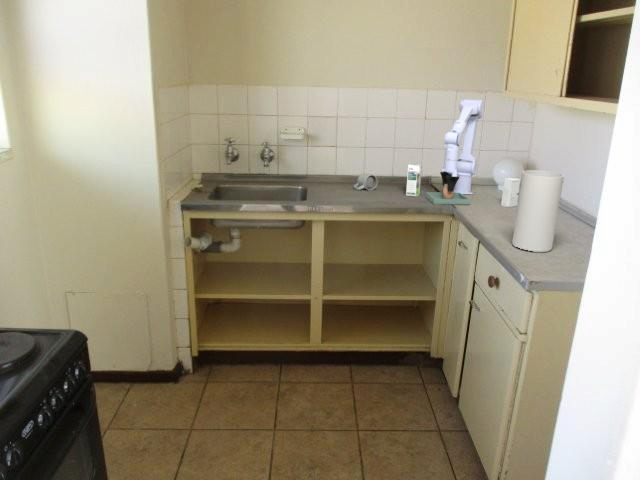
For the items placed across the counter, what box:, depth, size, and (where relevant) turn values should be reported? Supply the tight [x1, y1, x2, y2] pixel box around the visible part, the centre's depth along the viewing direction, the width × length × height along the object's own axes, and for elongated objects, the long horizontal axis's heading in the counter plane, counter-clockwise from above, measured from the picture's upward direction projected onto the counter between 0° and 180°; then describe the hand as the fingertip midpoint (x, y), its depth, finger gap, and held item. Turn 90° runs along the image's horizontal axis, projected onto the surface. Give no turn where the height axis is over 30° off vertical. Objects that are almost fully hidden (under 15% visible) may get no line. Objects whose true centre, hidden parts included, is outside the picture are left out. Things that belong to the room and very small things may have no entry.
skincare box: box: [500, 177, 521, 208], centre depth 231 cm, size 6×4×12 cm
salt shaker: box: [442, 184, 455, 199], centre depth 236 cm, size 5×5×7 cm
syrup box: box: [405, 163, 423, 197], centre depth 246 cm, size 6×6×14 cm
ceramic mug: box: [353, 173, 378, 191], centre depth 257 cm, size 11×8×8 cm
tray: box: [425, 191, 471, 206], centre depth 237 cm, size 14×16×2 cm
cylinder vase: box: [511, 169, 565, 253], centre depth 173 cm, size 12×12×25 cm
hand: (448, 189), depth 236 cm, fingers open, 7 cm apart
